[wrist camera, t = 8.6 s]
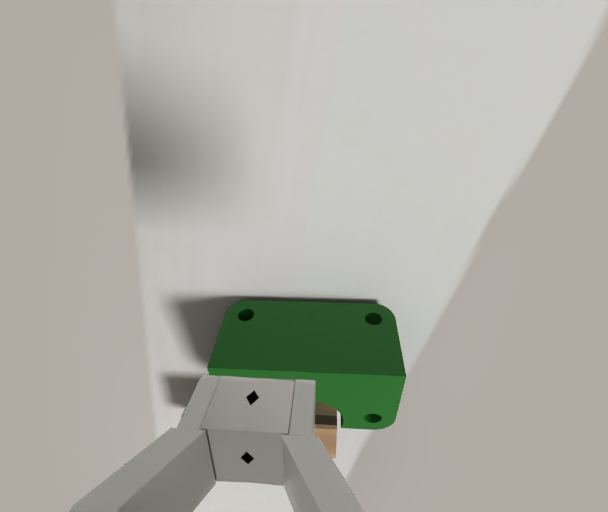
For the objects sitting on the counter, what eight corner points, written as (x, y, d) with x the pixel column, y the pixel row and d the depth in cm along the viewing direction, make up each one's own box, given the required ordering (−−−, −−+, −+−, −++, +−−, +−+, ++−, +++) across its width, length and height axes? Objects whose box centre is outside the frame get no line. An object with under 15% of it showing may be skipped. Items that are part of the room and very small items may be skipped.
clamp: (272, 321, 31) (204, 410, 24) (266, 268, 27) (183, 356, 21) (410, 374, 26) (370, 500, 20) (424, 318, 22) (381, 452, 16)
